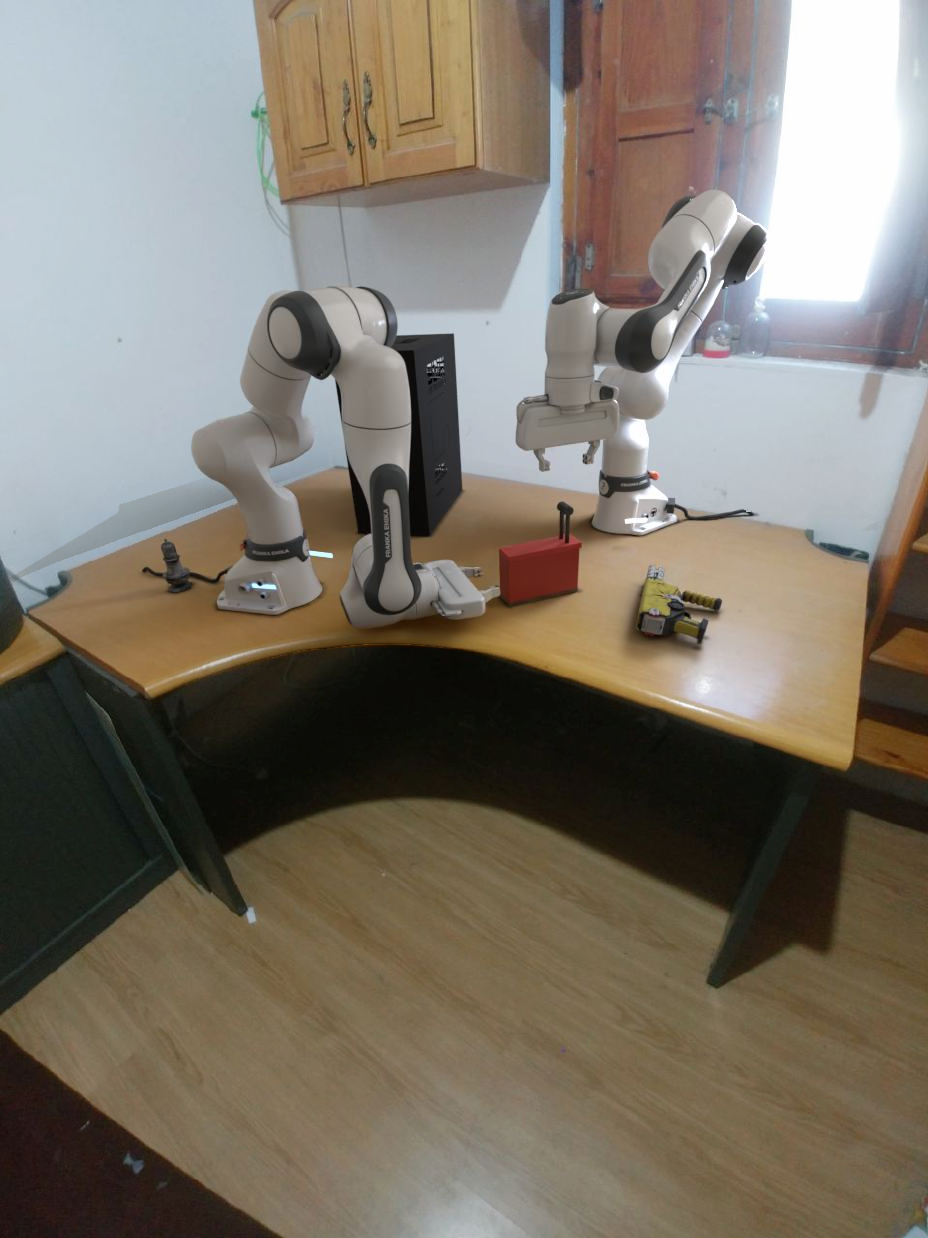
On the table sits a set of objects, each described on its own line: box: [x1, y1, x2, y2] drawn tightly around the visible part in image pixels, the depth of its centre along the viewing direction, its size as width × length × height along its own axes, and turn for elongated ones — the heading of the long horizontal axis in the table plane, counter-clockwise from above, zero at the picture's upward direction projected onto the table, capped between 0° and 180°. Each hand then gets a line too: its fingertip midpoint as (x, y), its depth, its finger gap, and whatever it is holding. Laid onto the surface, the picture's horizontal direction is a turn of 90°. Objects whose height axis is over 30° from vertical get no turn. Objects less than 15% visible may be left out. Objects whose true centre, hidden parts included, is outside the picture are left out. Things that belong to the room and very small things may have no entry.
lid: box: [498, 501, 583, 562], centre depth 121 cm, size 16×5×9 cm, turn 110°
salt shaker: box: [160, 538, 194, 593], centre depth 136 cm, size 6×6×12 cm
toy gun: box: [635, 564, 723, 645], centre depth 117 cm, size 5×24×15 cm
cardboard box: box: [334, 332, 463, 537], centre depth 165 cm, size 38×20×45 cm, turn 167°
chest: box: [498, 548, 580, 608], centre depth 125 cm, size 16×5×10 cm, turn 110°
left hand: (490, 580), depth 122 cm, fingers open, 8 cm apart
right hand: (566, 466), depth 116 cm, fingers open, 8 cm apart
